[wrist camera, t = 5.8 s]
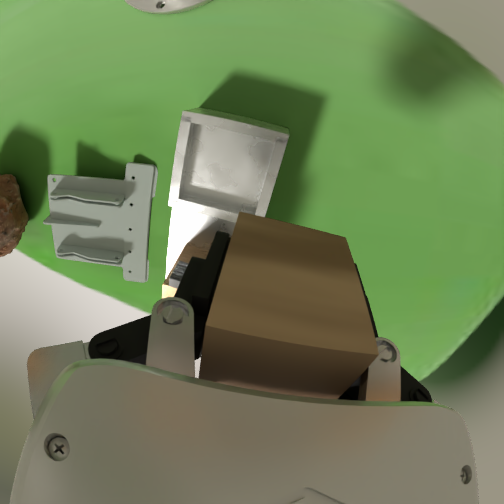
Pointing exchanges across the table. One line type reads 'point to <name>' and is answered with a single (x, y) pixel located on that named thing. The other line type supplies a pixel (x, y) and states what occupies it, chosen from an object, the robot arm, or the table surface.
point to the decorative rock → (11, 214)
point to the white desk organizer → (217, 181)
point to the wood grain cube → (287, 313)
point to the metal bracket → (104, 218)
